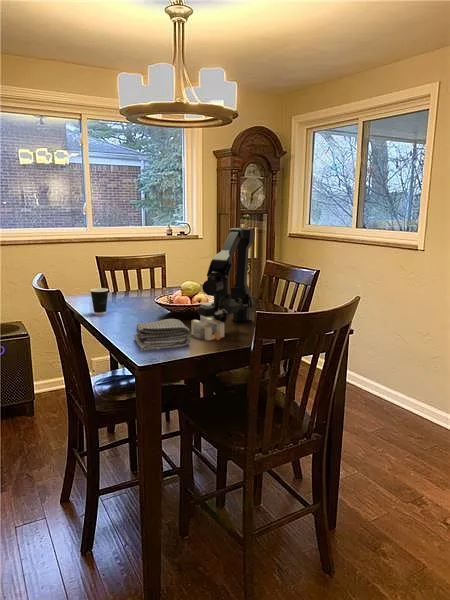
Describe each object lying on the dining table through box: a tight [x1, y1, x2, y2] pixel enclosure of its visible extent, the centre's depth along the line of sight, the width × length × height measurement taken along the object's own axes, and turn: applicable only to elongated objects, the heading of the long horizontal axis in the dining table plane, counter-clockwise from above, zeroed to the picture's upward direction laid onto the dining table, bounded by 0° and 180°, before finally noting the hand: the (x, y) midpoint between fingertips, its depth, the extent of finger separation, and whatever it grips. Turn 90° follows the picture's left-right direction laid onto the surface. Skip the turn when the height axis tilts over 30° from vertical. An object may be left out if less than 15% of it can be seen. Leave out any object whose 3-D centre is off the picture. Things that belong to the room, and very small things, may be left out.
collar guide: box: [190, 317, 225, 341], centre depth 172 cm, size 8×12×6 cm
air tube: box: [193, 323, 218, 340], centre depth 173 cm, size 10×4×4 cm, turn 129°
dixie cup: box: [89, 287, 109, 316], centre depth 205 cm, size 8×8×11 cm
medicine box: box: [199, 301, 214, 322], centre depth 191 cm, size 8×4×9 cm, turn 141°
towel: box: [133, 318, 191, 351], centre depth 163 cm, size 15×18×8 cm
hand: (221, 330), depth 177 cm, fingers closed
